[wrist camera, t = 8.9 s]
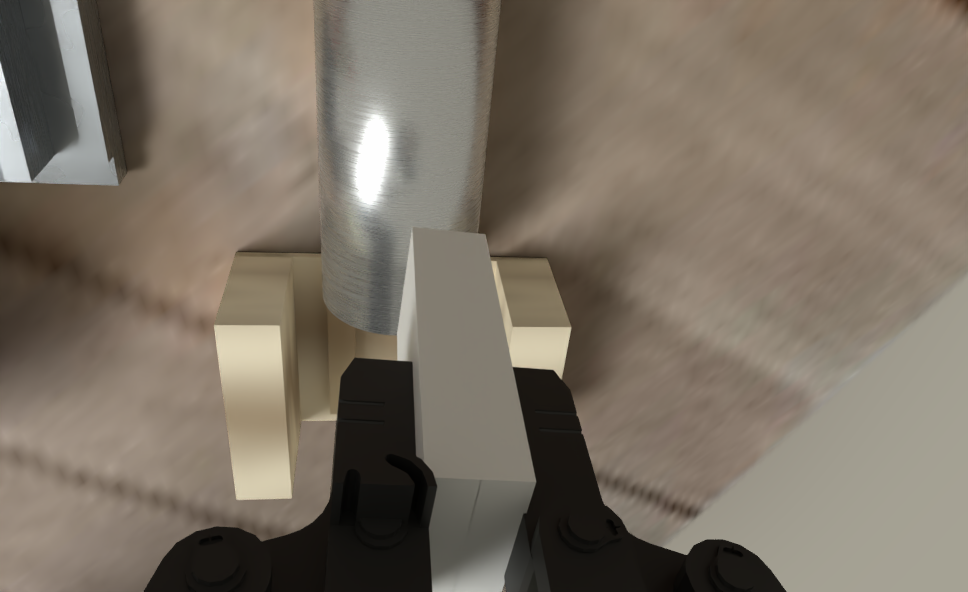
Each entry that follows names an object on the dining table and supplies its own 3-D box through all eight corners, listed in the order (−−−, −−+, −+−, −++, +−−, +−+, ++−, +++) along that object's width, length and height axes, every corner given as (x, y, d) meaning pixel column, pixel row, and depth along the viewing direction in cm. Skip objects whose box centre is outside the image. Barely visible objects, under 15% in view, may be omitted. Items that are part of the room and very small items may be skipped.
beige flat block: (522, 413, 34) (540, 491, 30) (252, 416, 32) (236, 500, 28) (617, -189, 21) (668, -183, 17) (186, -236, 20) (141, -240, 16)
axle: (472, 259, 28) (470, 341, 24) (335, 248, 28) (309, 329, 23) (504, -70, 22) (508, -37, 18) (329, -87, 22) (291, -59, 17)
